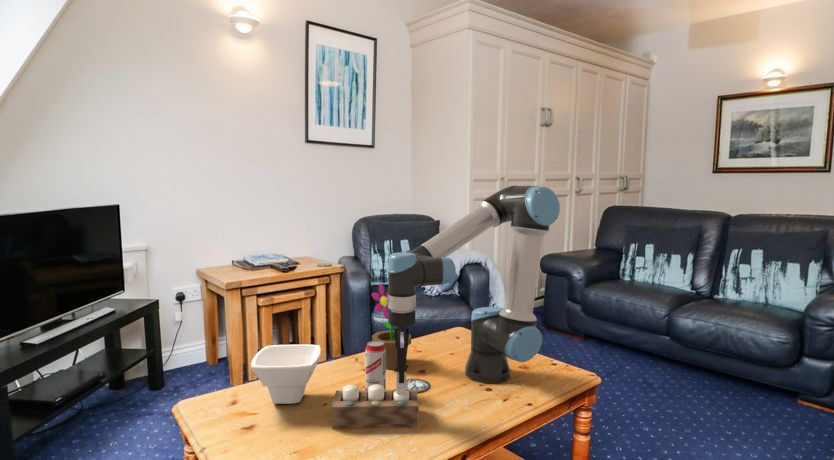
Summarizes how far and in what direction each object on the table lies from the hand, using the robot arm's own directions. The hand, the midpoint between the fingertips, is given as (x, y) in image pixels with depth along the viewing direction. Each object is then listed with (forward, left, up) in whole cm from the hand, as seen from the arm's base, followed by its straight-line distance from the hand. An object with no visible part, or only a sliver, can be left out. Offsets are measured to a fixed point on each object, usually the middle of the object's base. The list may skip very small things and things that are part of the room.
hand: (401, 392), depth 133 cm
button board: (+7, +1, -7) cm, 10 cm away
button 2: (0, 0, -5) cm, 5 cm away
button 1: (+14, 0, -4) cm, 14 cm away
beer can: (+8, -15, -7) cm, 18 cm away
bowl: (+34, -11, -7) cm, 36 cm away
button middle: (+7, 0, -4) cm, 8 cm away
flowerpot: (+3, -39, -7) cm, 40 cm away
